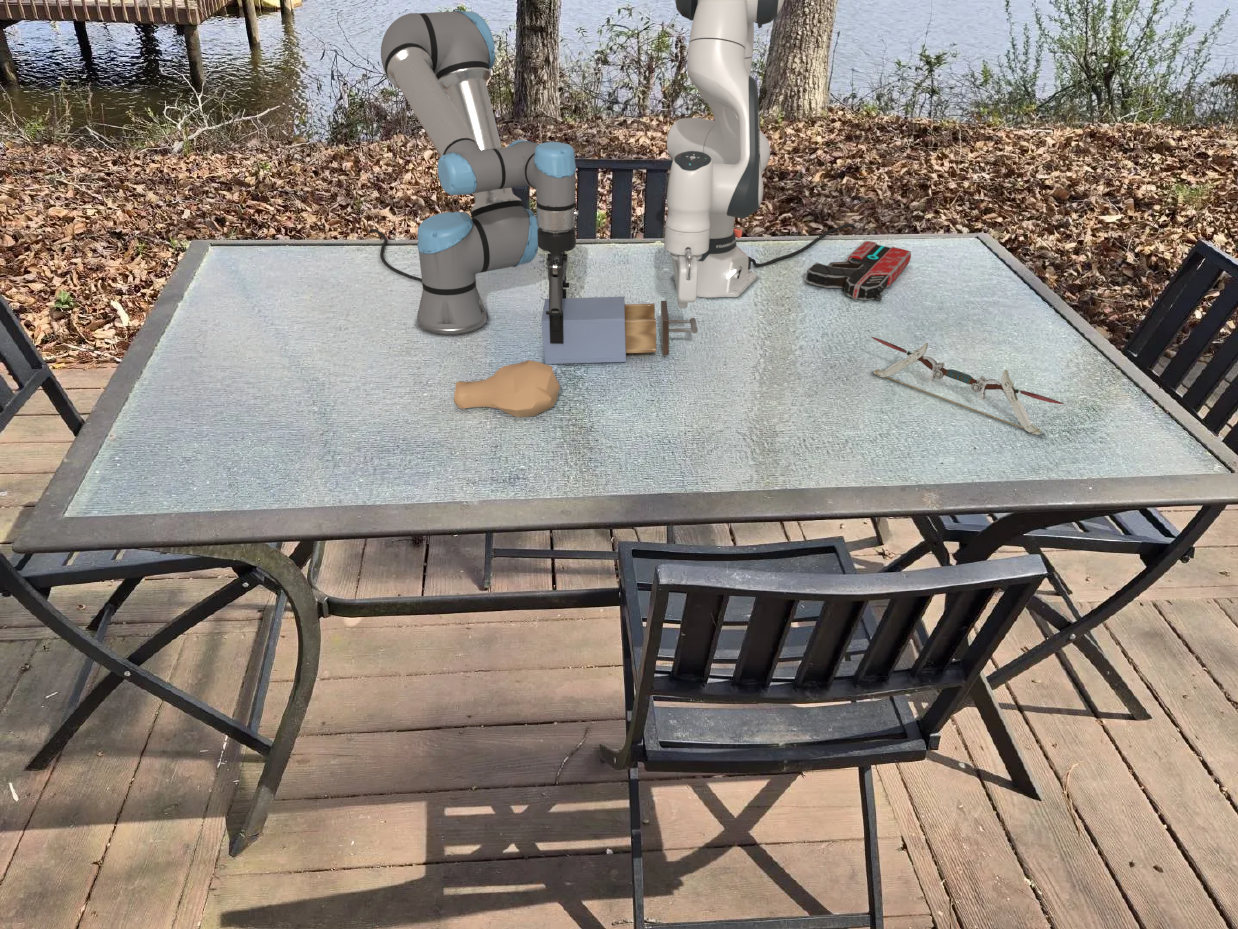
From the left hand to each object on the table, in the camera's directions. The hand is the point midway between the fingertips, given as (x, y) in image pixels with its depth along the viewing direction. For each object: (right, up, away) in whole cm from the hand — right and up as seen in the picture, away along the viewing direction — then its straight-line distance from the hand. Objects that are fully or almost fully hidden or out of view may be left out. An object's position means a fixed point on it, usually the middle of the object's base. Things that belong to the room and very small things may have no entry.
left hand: (558, 330), depth 183 cm
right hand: (+26, +5, -3) cm, 26 cm away
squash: (-8, -18, -17) cm, 26 cm away
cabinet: (+6, -4, +3) cm, 7 cm away
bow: (+78, -16, -11) cm, 80 cm away
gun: (+75, +20, +43) cm, 88 cm away
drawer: (+18, -3, +2) cm, 18 cm away
